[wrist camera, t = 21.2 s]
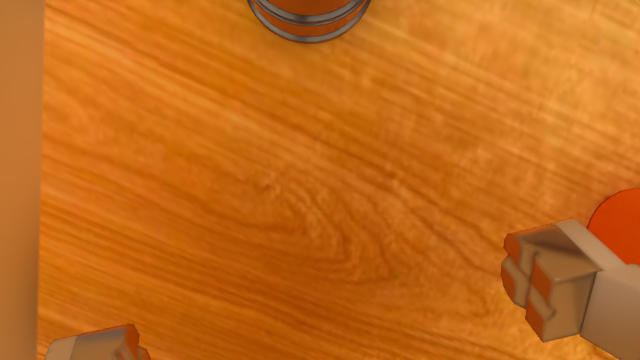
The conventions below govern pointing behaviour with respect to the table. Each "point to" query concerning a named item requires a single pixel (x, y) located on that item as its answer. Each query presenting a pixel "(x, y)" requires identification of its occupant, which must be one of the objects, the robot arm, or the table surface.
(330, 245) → the table surface
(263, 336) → the table surface
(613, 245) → the shaker bottle
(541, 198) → the table surface
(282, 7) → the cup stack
